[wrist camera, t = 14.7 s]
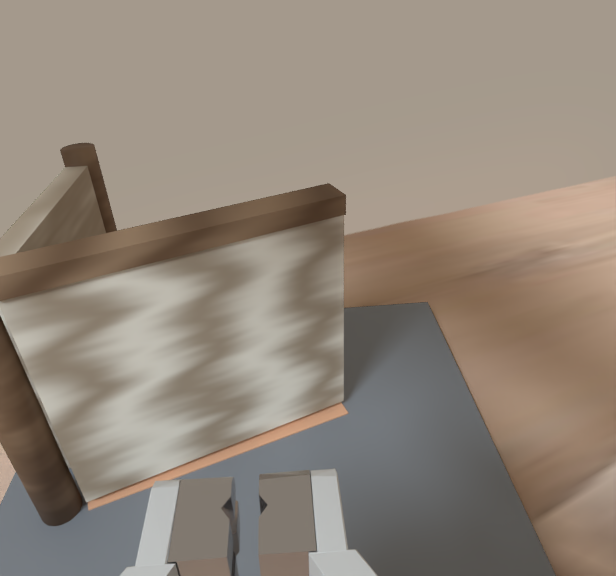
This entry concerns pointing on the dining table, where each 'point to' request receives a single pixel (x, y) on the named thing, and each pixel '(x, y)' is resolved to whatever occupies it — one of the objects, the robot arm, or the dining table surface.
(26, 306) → the fence panel
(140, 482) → the board
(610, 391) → the dining table surface
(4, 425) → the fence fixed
